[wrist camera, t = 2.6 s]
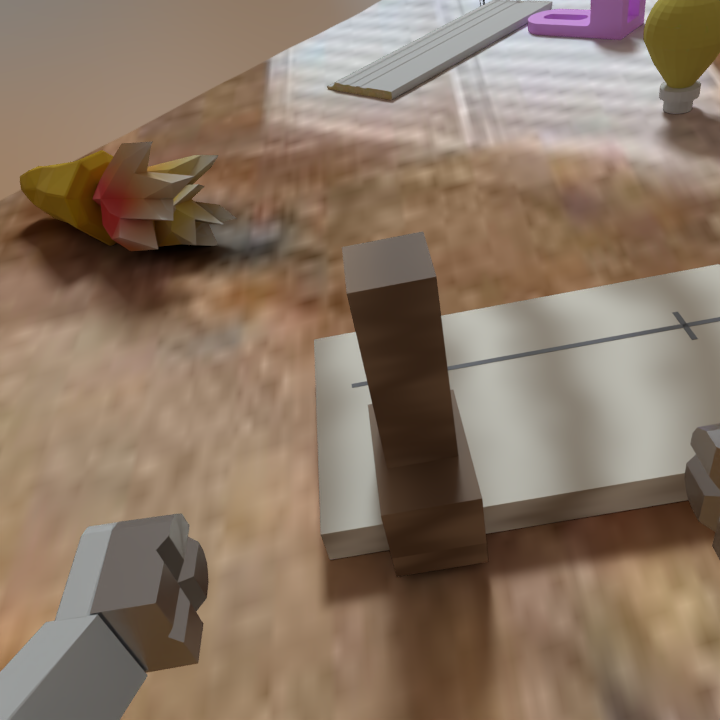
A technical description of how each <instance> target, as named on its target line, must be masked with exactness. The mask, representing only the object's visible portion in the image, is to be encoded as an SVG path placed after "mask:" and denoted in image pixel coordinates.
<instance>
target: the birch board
mask: <svg viewBox="0 0 720 720" xmlns="http://www.w3.org/2000/svg"><path fill="white" fill-rule="evenodd" d="M441 319H442V327H443V335H444V343H445V351H446V359H447V367H448V375H449V383H450V390H452V389H453V390H454V394H455V397H456V401H457V405H458V409H459V412H460V416H461V420H462V424H463V427H464V431H465V435H466V439H467V443H468V446H469V450H470V454H471V458H472V461H473V465H474V469H475V473H476V477H477V480H478V484H479V488H480V492H481V495H482V500H483V511H484V521H485V532H486V534H488V533H494V532H500V531H506V530H512V529H518V528H524V527H530V526H536V525H542V524H548V523H554V522H560V521H566V520H572V519H578V518H584V517H590V516H596V515H602V514H608V513H614V512H620V511H626V510H632V509H638V508H644V507H650V506H656V505H662V504H668V503H674V502H680V501H686V500H689V499H688V497H687V493H686V486H685V480H684V476H685V469H686V463H687V462H688V461H689V460H690V459H692V458H693V457H694V456H695V455H696V453H695V452H694V450H693V448H692V447H691V445H690V442H691V438H692V433H693V432H694V431H695V429H696V428H697V427H701V426H707V425H712V424H718V423H720V265H719V264H718V265H712V266H707V267H702V268H696V269H691V270H685V271H680V272H675V273H669V274H664V275H659V276H653V277H648V278H643V279H637V280H632V281H626V282H621V283H616V284H610V285H605V286H600V287H594V288H589V289H584V290H578V291H573V292H567V293H562V294H557V295H551V296H546V297H541V298H535V299H530V300H525V301H519V302H514V303H508V304H503V305H498V306H492V307H487V308H482V309H476V310H471V311H465V312H460V313H455V314H449V315H444V316H441ZM314 350H315V380H316V409H317V439H318V469H319V499H320V528H321V537H322V540H323V542H324V545H325V548H326V551H327V553H328V556H329V559H330V560H332V559H338V558H344V557H350V556H356V555H362V554H368V553H374V552H380V551H386V550H390V549H389V545H388V542H387V538H386V534H385V530H384V526H383V522H382V518H381V513H380V505H379V496H378V488H377V479H376V471H375V462H374V454H373V445H372V437H371V428H370V420H369V411H368V405H369V404H372V400H371V396H370V392H369V387H368V383H367V379H366V374H365V370H364V366H363V362H362V357H361V353H360V349H359V344H358V340H357V336H356V332H353V333H347V334H342V335H337V336H331V337H326V338H321V339H315V340H314Z"/></svg>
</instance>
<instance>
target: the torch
mask: <svg viewBox="0 0 720 720" xmlns="http://www.w3.org/2000/svg"><path fill="white" fill-rule="evenodd" d="M151 144H152V142H140V143H124V144H121V146H120V147H119V149H118V150H117V152H116V154H115V155H114V157H113V156H112V155H110V154H108V153H106V152H105V151H103V150H101V151H99V152H96V153H94V154H92V155H89V156H87V157H85V158H82V159H80V160H77V161H74V162H70V163H63V164H56V165H50V166H44V167H43V166H38V167H36V168H33V169H31V170H29V171H28V172H26V173H24V174H23V175H21V176H20V185H21V190H22V191H23V192H24V194H25V195H26V196H27V198H28V199H29V200H30V201H31V202H32V203H33V204H34V205H35V206H37V207H38V208H40V209H41V210H43V211H44V212H46V213H47V214H49V215H50V216H52V217H53V218H55V219H57V220H60V221H64V222H67V223H69V224H71V225H72V226H74V227H75V228H77V229H79V230H81V231H83V232H85V233H86V234H88V235H90V236H92V237H94V238H96V239H98V240H100V241H102V242H103V243H105V244H107V245H109V246H112V245H114V244H116V243H118V244H120V245H122V246H123V247H125V248H126V249H128V250H129V251H141V250H154V249H158V247H159V246H169V245H179V244H186V245H205V246H215V245H218V243H217V241H216V239H215V237H214V235H213V233H212V231H211V228H210V226H209V224H222V223H221V221H226V220H231V219H236V218H235V217H234V216H233V215H232V214H230V213H229V212H228V211H226V210H225V209H224V208H223V207H221V206H220V205H216V204H209V203H202V202H194V201H193V200H192V198H193V197H194V196H195V195H196V194H197V193H198V192H199V191H200V190H201V189H202V188H203V187H204V186H202V185H199V184H197V185H192V184H193V183H195V182H196V181H197V180H198V179H199V178H200V177H201V176H202V175H203V174H204V173H205V172H207V171H208V170H209V169H210V168H211V167H212V165H213V163H214V162H215V160H216V159H217V157H218V155H196V156H190V157H186V158H182V159H178V160H174V161H170V162H166V163H162V164H158V165H154V166H150V167H148V161H149V155H150V148H151Z"/></svg>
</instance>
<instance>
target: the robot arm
mask: <svg viewBox="0 0 720 720" xmlns="http://www.w3.org/2000/svg"><path fill="white" fill-rule="evenodd" d="M690 445H691V447H692V448H693V450H694V452H695V453H696V455H695V456H694V457H693V458H692V459H690V460H689V461H688V462H687V463H686V469H685V476H684V480H685V486H686V493H687V497H688V499H689V502H690V505H691V508H692V510H693V512H694V513H695V515H696V517H697V519H698V521H699V522H700V523H702V524H703V525H705V526H707V527H708V528H710V529H711V530H713V531H715V536H714V540H713V544H712V547H713V549H714V550H715V552H716V554H717V556H718V558H719V560H720V423H718V424H712V425H707V426H701V427H697V428H696V429H695V431H694V432H693V433H692V438H691V442H690ZM188 532H189V524H188V523H187V521H186V519H185V518H184V516H183V515H182V514H173V515H166V516H158V517H151V518H144V519H137V520H129V521H122V522H116V523H109V524H103V525H96V526H90V527H88V528H87V529H86V530H85V532H84V533H83V534H82V536H81V538H80V541H79V544H78V548H77V551H76V554H75V557H74V560H73V564H72V567H71V570H70V573H69V576H68V580H67V583H66V586H65V589H64V592H63V596H62V599H61V602H60V605H59V608H58V612H57V615H56V618H55V621H50V622H46V623H45V624H44V625H43V626H42V627H41V628H40V629H39V630H38V631H37V632H36V634H35V635H34V636H33V637H32V638H31V639H30V640H29V641H28V642H27V643H26V645H25V646H24V647H23V648H22V649H21V650H20V651H19V652H18V653H17V654H16V655H15V657H14V658H13V659H12V660H11V661H10V662H9V663H8V664H7V665H6V666H5V668H4V669H3V670H2V671H1V672H0V720H120V718H121V717H122V715H123V714H124V712H125V710H126V709H127V707H128V706H129V704H130V703H131V701H132V699H133V698H134V696H135V695H136V693H137V691H138V690H139V688H140V687H141V685H142V684H143V682H144V680H145V679H146V677H147V674H146V673H147V672H152V671H158V670H164V669H169V668H175V667H181V666H186V665H192V664H198V661H199V653H200V646H201V638H202V631H203V622H202V621H201V619H200V617H199V616H198V614H197V613H196V611H197V610H198V609H199V607H200V606H201V605H202V603H203V602H204V601H205V599H206V598H207V590H208V568H207V561H206V558H205V554H204V551H203V549H202V547H201V545H200V544H199V542H198V541H196V540H193V539H191V538H189V537H188Z"/></svg>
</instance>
